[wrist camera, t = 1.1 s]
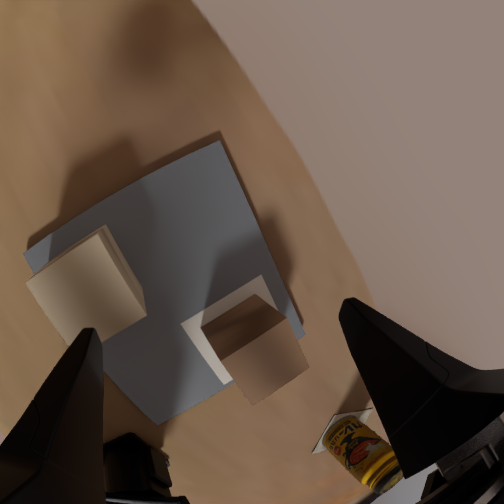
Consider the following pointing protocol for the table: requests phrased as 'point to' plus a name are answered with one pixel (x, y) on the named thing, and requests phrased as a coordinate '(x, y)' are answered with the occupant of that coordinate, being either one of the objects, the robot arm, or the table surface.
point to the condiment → (361, 451)
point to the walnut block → (256, 347)
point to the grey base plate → (178, 276)
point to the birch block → (89, 288)
